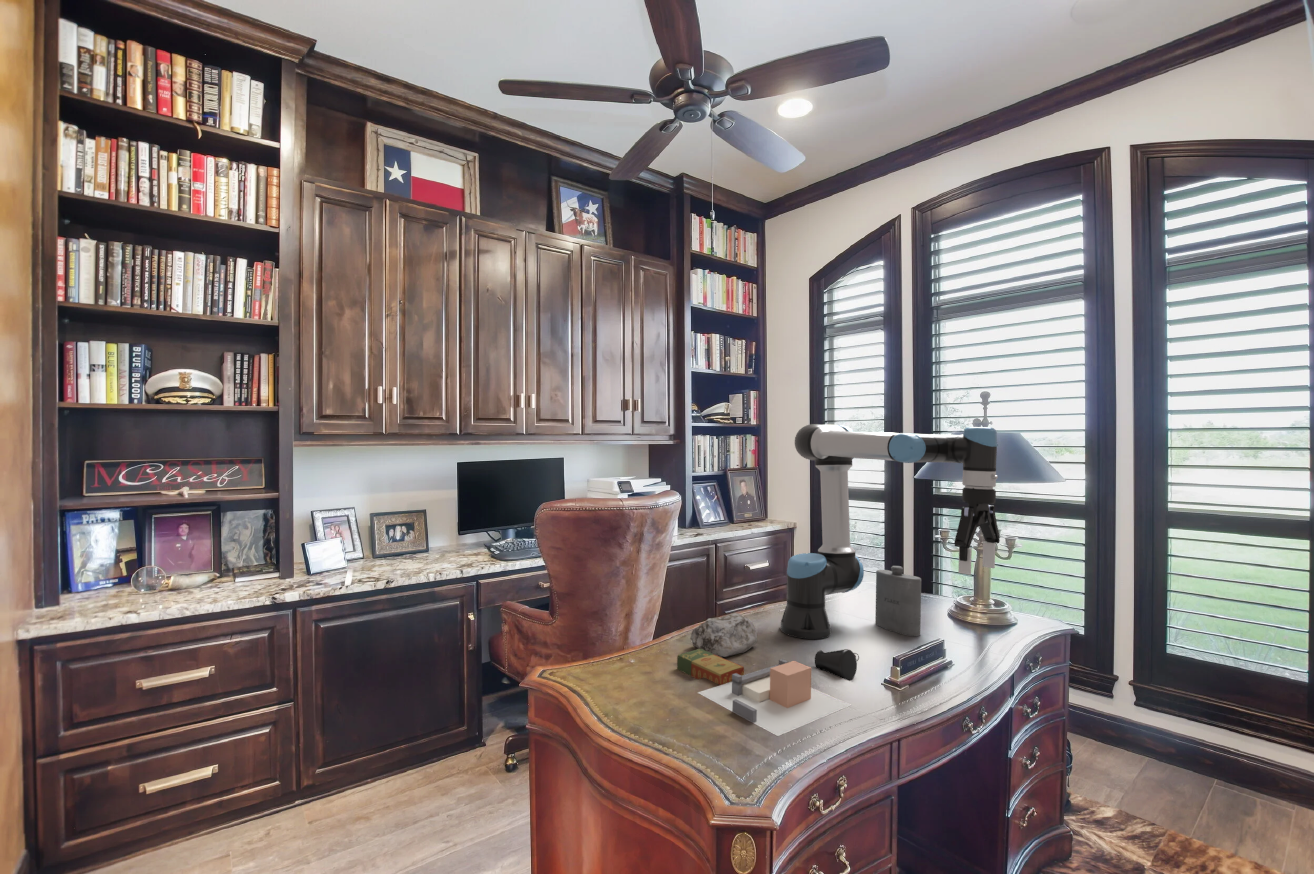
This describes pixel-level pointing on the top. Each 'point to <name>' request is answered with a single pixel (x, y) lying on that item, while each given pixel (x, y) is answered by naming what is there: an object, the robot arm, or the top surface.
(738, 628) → the decorative stone
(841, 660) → the black tapered cylinder
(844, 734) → the top surface
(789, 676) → the block
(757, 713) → the board
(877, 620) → the flask
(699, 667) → the carton
